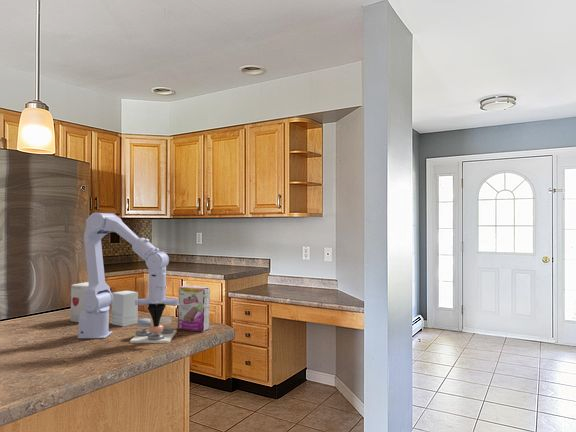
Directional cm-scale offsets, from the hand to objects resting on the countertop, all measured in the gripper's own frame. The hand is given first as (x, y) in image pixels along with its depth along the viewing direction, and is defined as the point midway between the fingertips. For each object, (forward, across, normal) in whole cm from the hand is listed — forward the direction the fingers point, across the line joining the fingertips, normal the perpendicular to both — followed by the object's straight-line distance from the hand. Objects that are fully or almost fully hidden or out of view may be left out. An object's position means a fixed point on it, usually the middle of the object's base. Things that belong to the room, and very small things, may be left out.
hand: (156, 325), depth 148 cm
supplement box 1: (+5, -35, +30) cm, 46 cm away
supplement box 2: (+5, -18, +24) cm, 30 cm away
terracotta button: (+2, 0, 0) cm, 2 cm away
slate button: (+1, -5, +5) cm, 7 cm away
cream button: (+1, +2, +8) cm, 8 cm away
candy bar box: (+5, +11, +15) cm, 19 cm away
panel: (+5, -2, +4) cm, 7 cm away
